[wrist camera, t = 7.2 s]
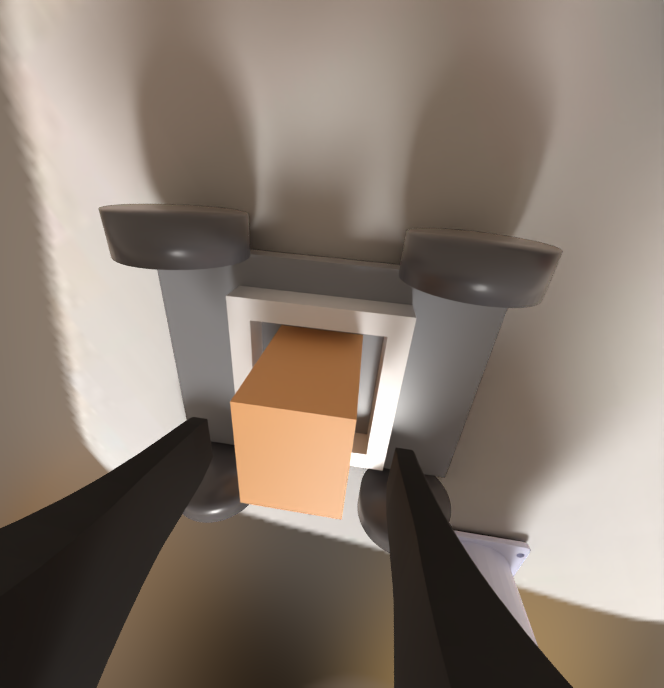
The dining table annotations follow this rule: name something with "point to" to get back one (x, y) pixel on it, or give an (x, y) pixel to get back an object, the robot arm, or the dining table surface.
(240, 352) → the chassis
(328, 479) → the block
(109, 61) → the dining table surface
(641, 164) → the dining table surface
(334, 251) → the dining table surface
